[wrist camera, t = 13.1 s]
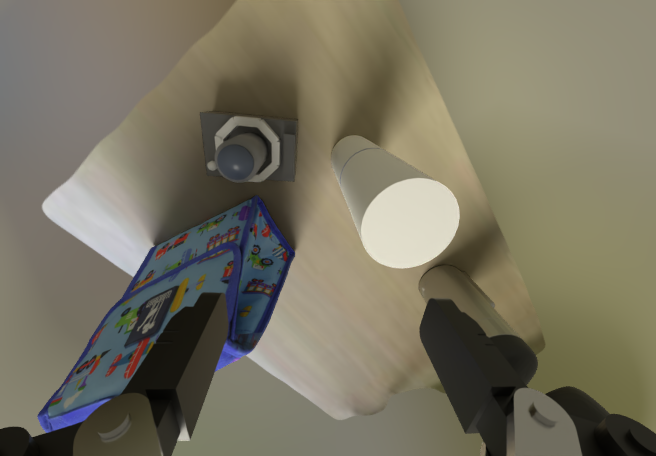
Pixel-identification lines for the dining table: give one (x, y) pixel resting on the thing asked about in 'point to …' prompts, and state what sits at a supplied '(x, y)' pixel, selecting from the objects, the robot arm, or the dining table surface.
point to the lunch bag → (180, 304)
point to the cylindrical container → (394, 204)
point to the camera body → (272, 129)
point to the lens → (241, 156)
